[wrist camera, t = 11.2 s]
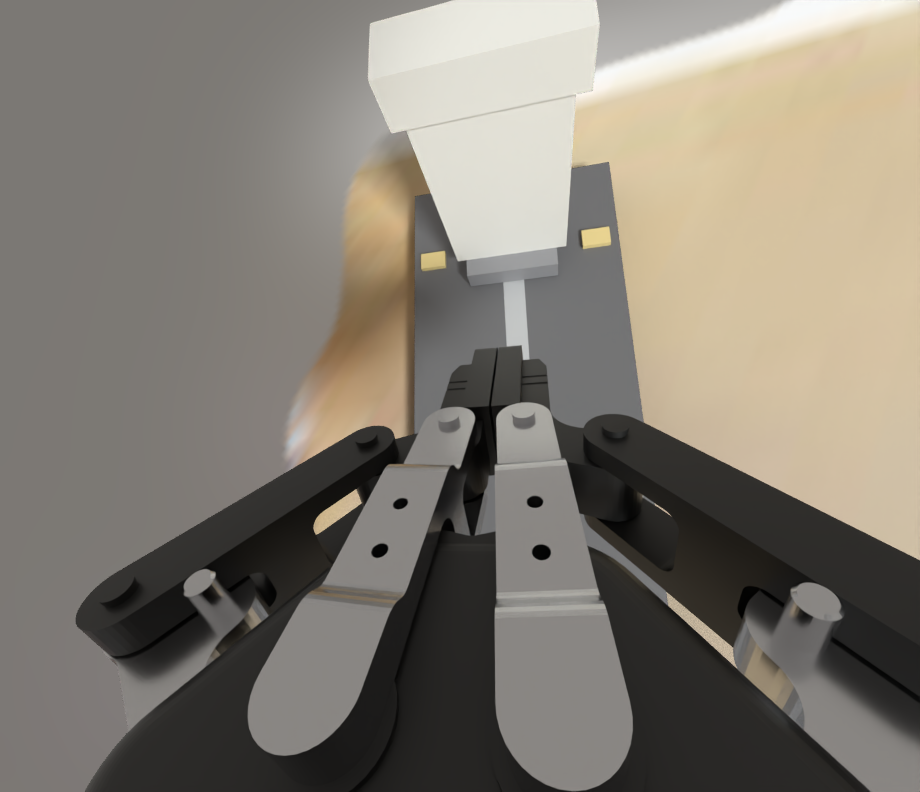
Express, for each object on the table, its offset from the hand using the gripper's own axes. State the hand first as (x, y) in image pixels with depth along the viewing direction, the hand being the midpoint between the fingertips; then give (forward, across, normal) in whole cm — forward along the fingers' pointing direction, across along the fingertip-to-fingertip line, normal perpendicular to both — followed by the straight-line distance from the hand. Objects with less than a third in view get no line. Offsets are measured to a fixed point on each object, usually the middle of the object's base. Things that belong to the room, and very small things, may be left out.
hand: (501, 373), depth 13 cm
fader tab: (+13, 0, -1) cm, 13 cm away
